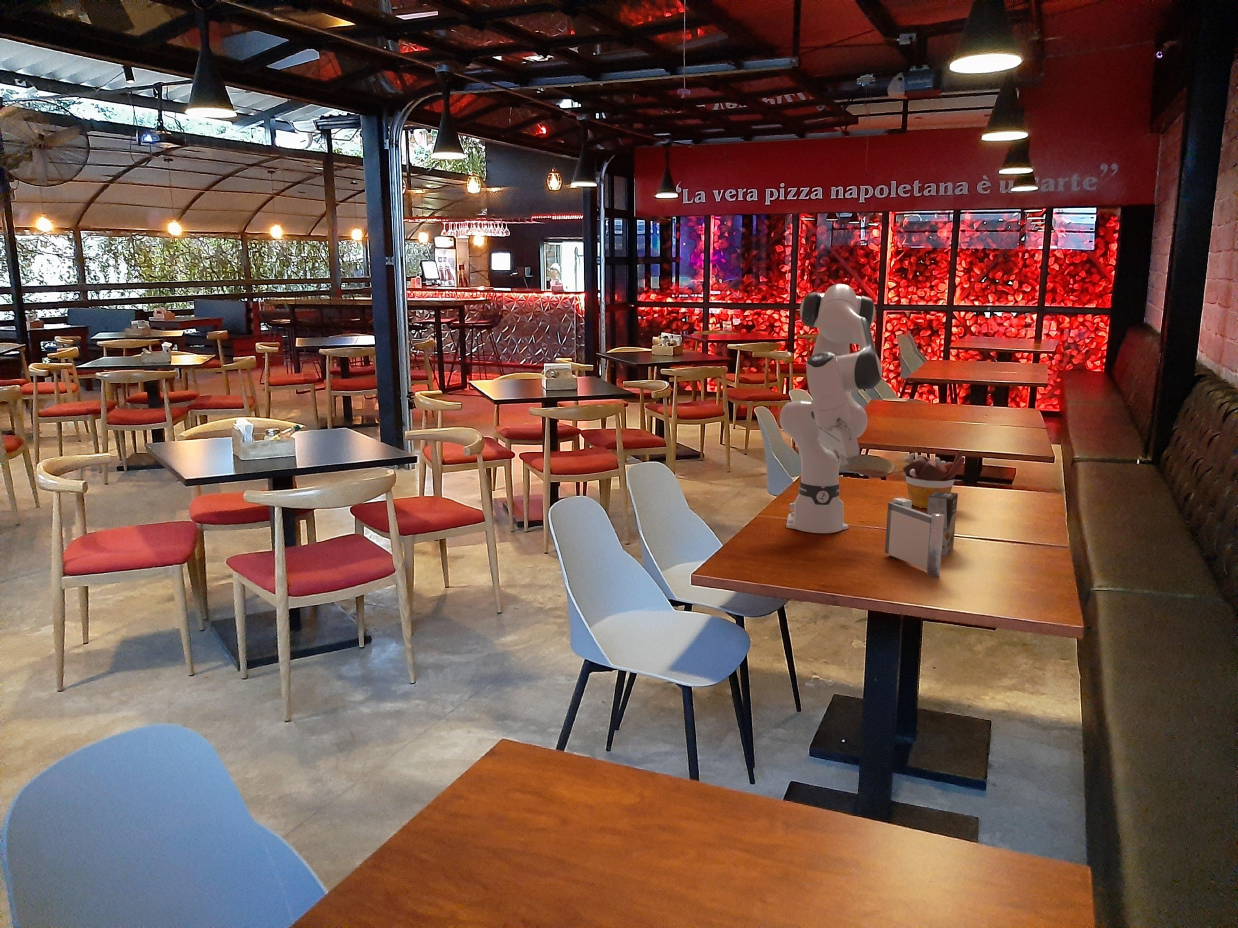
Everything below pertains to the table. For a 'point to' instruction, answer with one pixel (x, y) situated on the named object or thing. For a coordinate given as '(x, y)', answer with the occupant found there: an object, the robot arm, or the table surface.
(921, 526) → the gate
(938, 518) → the hinge post
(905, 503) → the post
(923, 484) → the bucket of meat
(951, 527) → the coffee box
